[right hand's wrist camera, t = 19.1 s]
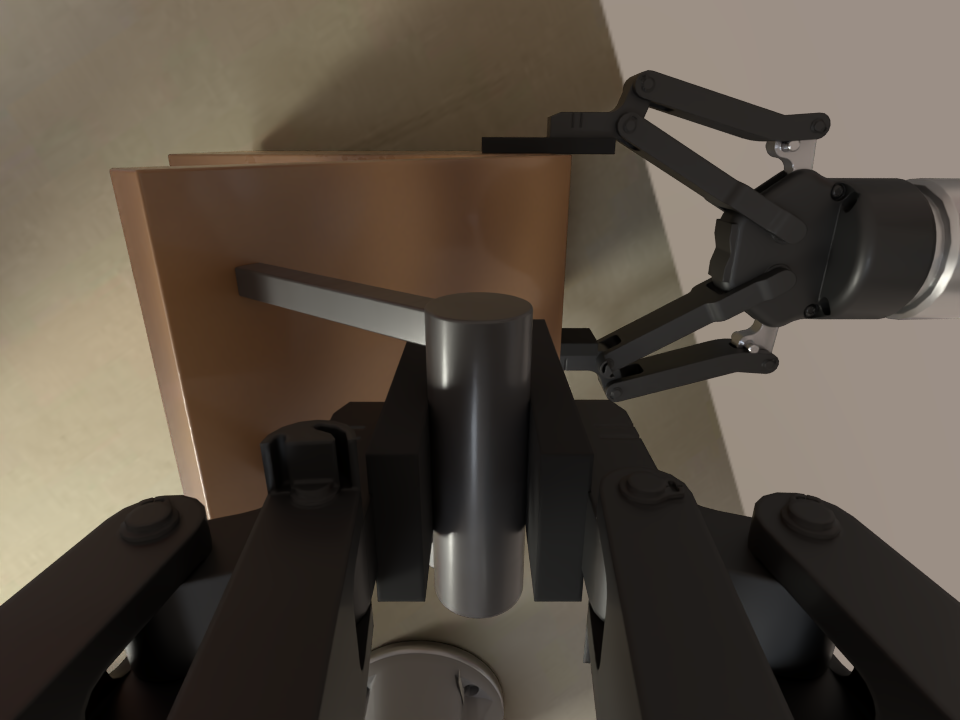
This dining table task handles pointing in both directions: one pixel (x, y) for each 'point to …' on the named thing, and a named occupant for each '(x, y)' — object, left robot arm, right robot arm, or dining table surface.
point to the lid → (356, 324)
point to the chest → (316, 156)
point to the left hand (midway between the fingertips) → (481, 249)
